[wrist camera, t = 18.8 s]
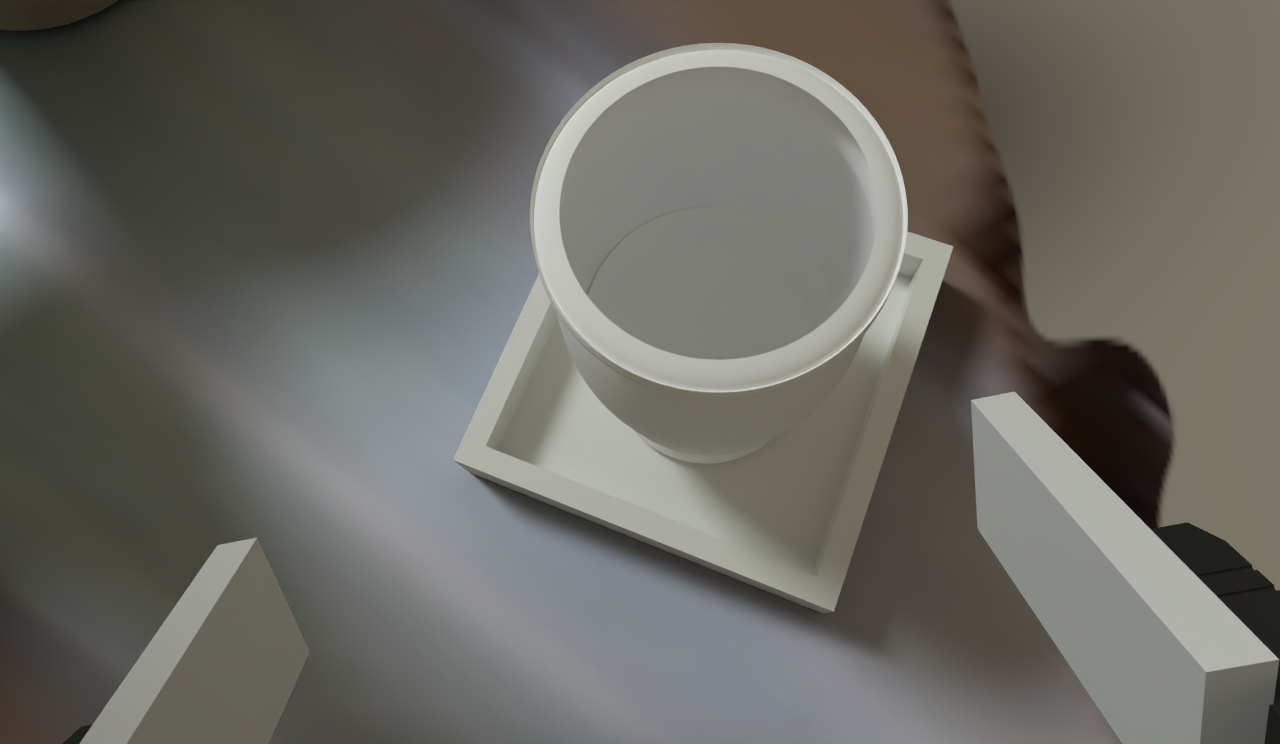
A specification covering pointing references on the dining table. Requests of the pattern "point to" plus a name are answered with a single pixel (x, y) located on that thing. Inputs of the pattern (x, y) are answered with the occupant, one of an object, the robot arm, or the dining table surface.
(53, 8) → the plant pot
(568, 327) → the jar
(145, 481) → the dining table surface
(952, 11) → the dining table surface
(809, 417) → the tray
